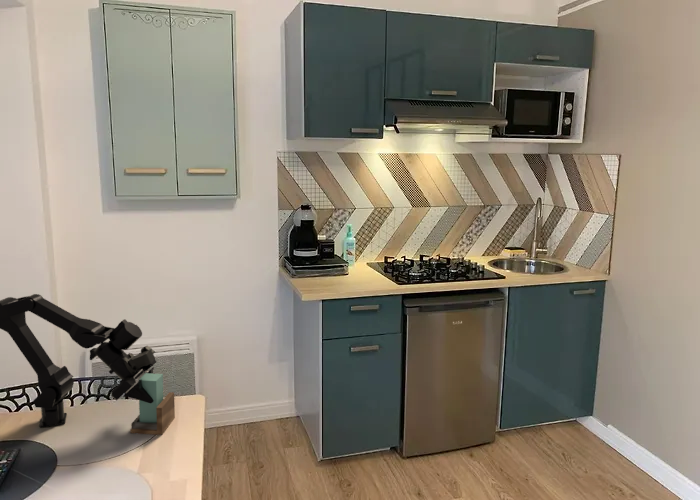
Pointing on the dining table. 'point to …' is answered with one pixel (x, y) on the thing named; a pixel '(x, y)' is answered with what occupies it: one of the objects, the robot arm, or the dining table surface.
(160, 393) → the teal block
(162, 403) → the wall board cradle
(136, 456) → the dining table surface
